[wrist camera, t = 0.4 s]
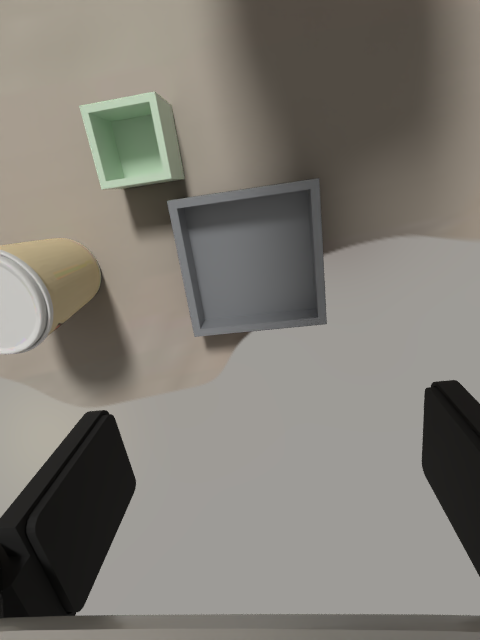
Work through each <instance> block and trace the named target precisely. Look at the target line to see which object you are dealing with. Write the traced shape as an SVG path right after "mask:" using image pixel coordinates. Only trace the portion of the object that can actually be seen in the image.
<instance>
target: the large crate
mask: <svg viewBox="0 0 480 640" xmlns="http://www.w3.org/2000/svg"><path fill="white" fill-rule="evenodd" d="M167 204H168V209H169V214H170V219H171V224H172V229H173V233H174V238H175V243H176V248H177V253H178V258H179V263H180V268H181V273H182V277H183V282H184V287H185V292H186V297H187V302H188V307H189V312H190V317H191V322H192V326H193V331H194V336H195V337H197V336H208V335H218V334H229V333H239V332H249V331H260V330H270V329H280V328H291V327H300V326H311V325H321V324H327V322H326V321H327V320H326V301H325V281H324V262H323V242H322V222H321V203H320V183H319V178H317V179H309V180H303V181H296V182H289V183H282V184H276V185H269V186H262V187H255V188H249V189H242V190H235V191H228V192H222V193H215V194H208V195H201V196H195V197H188V198H181V199H175V200H169V201H167Z"/></svg>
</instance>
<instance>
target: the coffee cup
mask: <svg viewBox="0 0 480 640" xmlns="http://www.w3.org/2000/svg"><path fill="white" fill-rule="evenodd" d="M100 283H101V272H100V267H99V265H98V262H97V260H96V259H95V257H94V256H93V254H92V253H91V252H90V251H89V250H88V249H87V248H86V247H85V246H83V245H82V244H80V243H78V242H76V241H74V240H70V239H66V238H55V239H45V240H38V241H30V242H22V243H15V244H8V245H1V246H0V354H17V353H23V352H26V351H29V350H31V349H33V348H35V347H37V346H38V345H39V344H40V343H41V342H42V341H44V340H45V338H46V337H47V336H48V335H49V334H51V333H52V332H53V331H54V330H56V329H57V328H58V327H59V326H60V325H61V324H63V323H64V322H65V321H66V320H67V319H69V318H70V317H71V316H72V315H73V314H75V313H76V312H77V311H78V310H79V309H80V308H82V307H83V306H84V305H85V304H86V303H88V302H89V301H90V300H91V299H92V298H93V297H94V296H95V295H96V293H97V292H98V290H99V287H100Z"/></svg>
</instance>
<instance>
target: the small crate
mask: <svg viewBox="0 0 480 640" xmlns="http://www.w3.org/2000/svg"><path fill="white" fill-rule="evenodd" d="M79 107H80V110H81V114H82V118H83V122H84V125H85V129H86V133H87V137H88V140H89V144H90V148H91V152H92V155H93V159H94V163H95V167H96V171H97V174H98V178H99V182H100V186H101V189H125V188H131V187H138V186H144V185H150V184H157V183H163V182H170V181H176V180H183V179H185V178H184V173H183V167H182V162H181V156H180V151H179V145H178V140H177V134H176V129H175V123H174V118H173V112H172V107H171V104H169V103H168V102H167V101H166V100H164V99H163V98H162V97H161V96H160V95H158V94H157V93H156V92H150V93H144V94H139V95H134V96H129V97H123V98H118V99H113V100H108V101H102V102H97V103H92V104H87V105H81V106H79Z"/></svg>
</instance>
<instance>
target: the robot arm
mask: <svg viewBox="0 0 480 640" xmlns="http://www.w3.org/2000/svg"><path fill="white" fill-rule="evenodd" d="M422 449H423V450H422V467H423V471H424V474H425V476H426V478H427V480H428V482H429V484H430V485H431V487H432V489H433V491H434V493H435V495H436V497H437V499H438V500H439V502H440V504H441V506H442V508H443V510H444V511H445V513H446V515H447V517H448V519H449V521H450V522H451V524H452V526H453V528H454V530H455V532H456V533H457V536H458V537H459V539H460V541H461V543H462V545H463V547H464V548H465V550H466V552H467V554H468V556H469V558H470V560H471V561H472V563H473V565H474V567H475V569H476V571H477V573H478V574H479V576H480V404H479V403H478V402H477V401H476V400H475V398H474V397H473V396H472V395H471V394H470V393H468V391H467V390H466V389H465V388H464V387H463V386H462V385H461V384H460V383H459V382H458V381H455V380H451V381H439V382H433V383H432V385H431V387H430V388H426V389H425V400H424V424H423V447H422ZM135 486H136V480H135V476H134V474H133V470H132V467H131V464H130V462H129V459H128V456H127V453H126V450H125V447H124V444H123V441H122V438H121V436H120V432H119V429H118V427H117V423H116V420H115V418H114V416H113V415H111V414H109V413H108V412H107V411H105V410H102V411H92V412H91V411H90V412H87V413H86V414H84V416H83V417H82V418H81V419H80V420H79V422H78V423H77V424H76V425H75V427H74V428H73V429H72V430H71V432H70V433H69V434H68V435H67V437H66V438H65V439H64V440H63V441H62V443H61V444H60V445H59V447H58V448H57V449H56V450H55V451H54V453H53V454H52V455H51V456H50V458H49V459H48V460H47V461H46V462H45V464H44V465H43V466H42V467H41V469H40V470H39V471H38V472H37V474H36V475H35V476H34V477H33V478H32V480H31V481H30V482H29V483H28V485H27V486H26V487H25V488H24V490H23V491H22V492H21V493H20V495H19V496H18V497H17V498H16V499H15V501H14V502H13V503H12V504H11V506H10V507H9V508H8V509H7V511H6V512H5V513H4V514H3V516H2V517H1V518H0V640H480V616H471V615H394V614H393V615H391V614H390V615H389V614H387V615H386V614H385V615H381V614H379V615H378V614H376V615H375V614H373V615H372V614H371V615H369V614H356V615H355V614H343V615H342V614H257V615H256V614H254V615H253V614H250V615H249V614H247V615H246V614H245V615H243V614H232V615H107V616H105V615H104V616H75V614H76V612H79V611H80V610H81V609H82V608H83V606H84V604H85V602H86V600H87V598H88V596H89V593H90V591H91V589H92V586H93V584H94V582H95V580H96V577H97V575H98V573H99V571H100V568H101V566H102V564H103V562H104V559H105V557H106V555H107V553H108V550H109V548H110V546H111V543H112V541H113V539H114V537H115V534H116V532H117V530H118V527H119V525H120V523H121V521H122V519H123V516H124V514H125V512H126V509H127V507H128V505H129V503H130V500H131V498H132V496H133V494H134V491H135Z"/></svg>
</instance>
